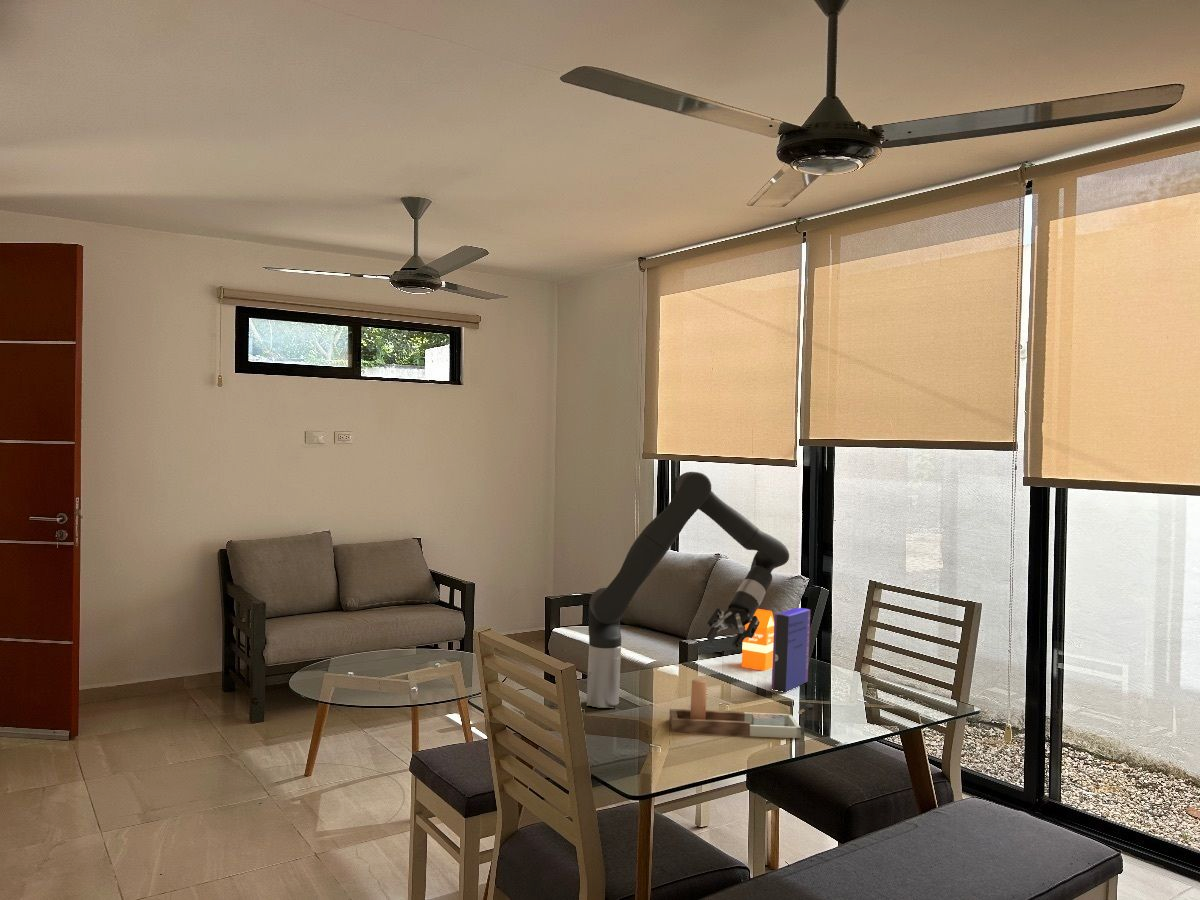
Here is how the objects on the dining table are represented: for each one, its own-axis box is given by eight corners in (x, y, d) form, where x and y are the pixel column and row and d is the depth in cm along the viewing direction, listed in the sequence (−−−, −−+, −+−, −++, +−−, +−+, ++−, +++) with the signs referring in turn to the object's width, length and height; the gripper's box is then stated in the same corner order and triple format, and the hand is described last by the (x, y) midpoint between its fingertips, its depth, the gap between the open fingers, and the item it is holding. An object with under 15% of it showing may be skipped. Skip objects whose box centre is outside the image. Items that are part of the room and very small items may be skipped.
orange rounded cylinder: (690, 728, 236) (692, 682, 236) (689, 723, 240) (691, 678, 240) (705, 729, 236) (707, 683, 236) (704, 724, 240) (706, 679, 240)
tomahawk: (800, 731, 245) (801, 727, 245) (777, 724, 249) (778, 720, 249) (828, 712, 262) (828, 708, 262) (806, 706, 266) (806, 702, 266)
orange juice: (765, 670, 307) (767, 612, 307) (741, 666, 312) (743, 609, 312) (773, 666, 314) (776, 609, 314) (750, 662, 319) (752, 606, 319)
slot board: (672, 736, 232) (673, 721, 232) (668, 722, 244) (669, 707, 244) (749, 739, 232) (750, 724, 232) (742, 725, 244) (743, 710, 244)
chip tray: (749, 739, 232) (750, 725, 232) (742, 725, 244) (743, 712, 244) (800, 741, 232) (800, 727, 232) (790, 727, 244) (791, 714, 244)
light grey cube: (753, 733, 236) (753, 717, 236) (751, 728, 240) (752, 713, 240) (768, 733, 236) (769, 718, 236) (766, 729, 240) (767, 714, 240)
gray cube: (768, 733, 236) (769, 718, 236) (766, 729, 240) (767, 714, 240) (783, 734, 236) (784, 719, 236) (781, 729, 240) (782, 714, 240)
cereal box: (793, 679, 296) (796, 607, 296) (807, 682, 294) (810, 609, 294) (771, 690, 282) (774, 613, 282) (785, 693, 279) (788, 615, 279)
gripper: (722, 586, 260) (695, 630, 251) (764, 594, 250) (738, 640, 241) (731, 603, 263) (706, 647, 255) (773, 611, 254) (748, 657, 245)
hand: (721, 643), depth 248 cm, fingers open, 8 cm apart
